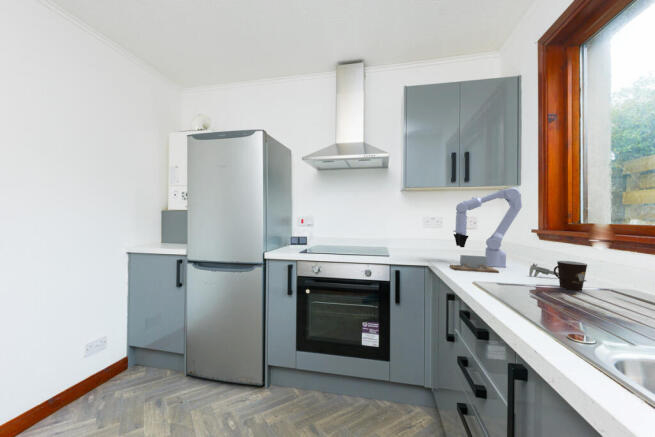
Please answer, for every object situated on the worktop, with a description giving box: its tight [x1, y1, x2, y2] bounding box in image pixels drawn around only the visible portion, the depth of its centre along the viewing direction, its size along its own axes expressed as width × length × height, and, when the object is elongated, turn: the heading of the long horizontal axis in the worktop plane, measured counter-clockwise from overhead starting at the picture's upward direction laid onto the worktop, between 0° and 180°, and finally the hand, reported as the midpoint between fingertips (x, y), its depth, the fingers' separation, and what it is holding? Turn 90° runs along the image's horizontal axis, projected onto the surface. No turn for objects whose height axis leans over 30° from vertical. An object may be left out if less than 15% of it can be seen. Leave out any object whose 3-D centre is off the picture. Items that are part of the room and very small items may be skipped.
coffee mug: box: [553, 260, 588, 292], centre depth 104 cm, size 12×9×10 cm
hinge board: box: [449, 263, 500, 274], centre depth 137 cm, size 20×10×3 cm, turn 78°
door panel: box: [459, 254, 487, 268], centre depth 137 cm, size 12×2×6 cm, turn 78°
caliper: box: [529, 263, 587, 282], centre depth 121 cm, size 20×1×6 cm, turn 67°
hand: (460, 246), depth 157 cm, fingers open, 7 cm apart
